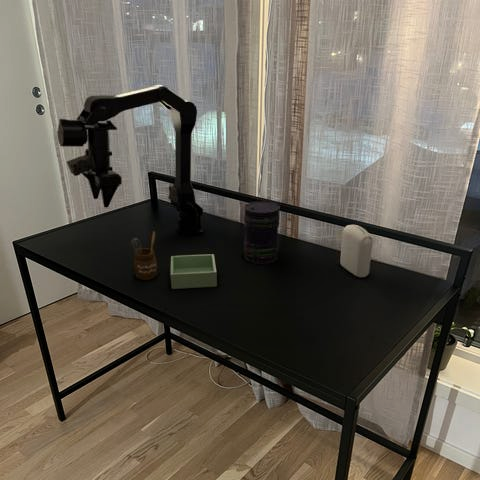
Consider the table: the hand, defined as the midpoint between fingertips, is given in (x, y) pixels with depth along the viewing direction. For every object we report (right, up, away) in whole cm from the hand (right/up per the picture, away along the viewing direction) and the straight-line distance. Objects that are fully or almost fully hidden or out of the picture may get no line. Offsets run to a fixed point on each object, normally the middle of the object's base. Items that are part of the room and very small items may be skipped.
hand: (100, 203), depth 147 cm
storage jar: (+46, -15, +2) cm, 49 cm away
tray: (+28, -22, -10) cm, 37 cm away
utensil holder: (+15, -22, -8) cm, 28 cm away
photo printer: (+71, -20, -6) cm, 74 cm away
